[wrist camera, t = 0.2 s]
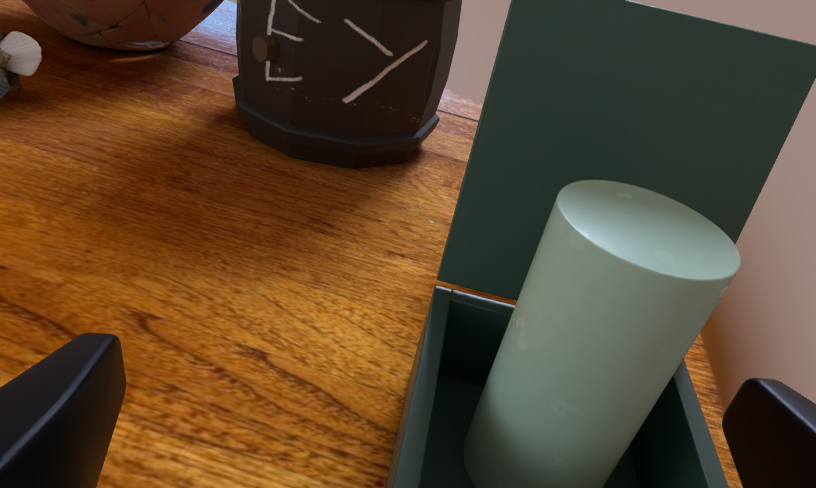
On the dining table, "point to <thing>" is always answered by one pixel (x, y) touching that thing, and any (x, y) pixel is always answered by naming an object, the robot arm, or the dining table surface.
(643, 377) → the pale green cylinder
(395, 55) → the black polygonal canister
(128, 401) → the dining table surface
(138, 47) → the bowl
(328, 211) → the dining table surface
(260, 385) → the dining table surface
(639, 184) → the box lid
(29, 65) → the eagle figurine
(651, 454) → the box
